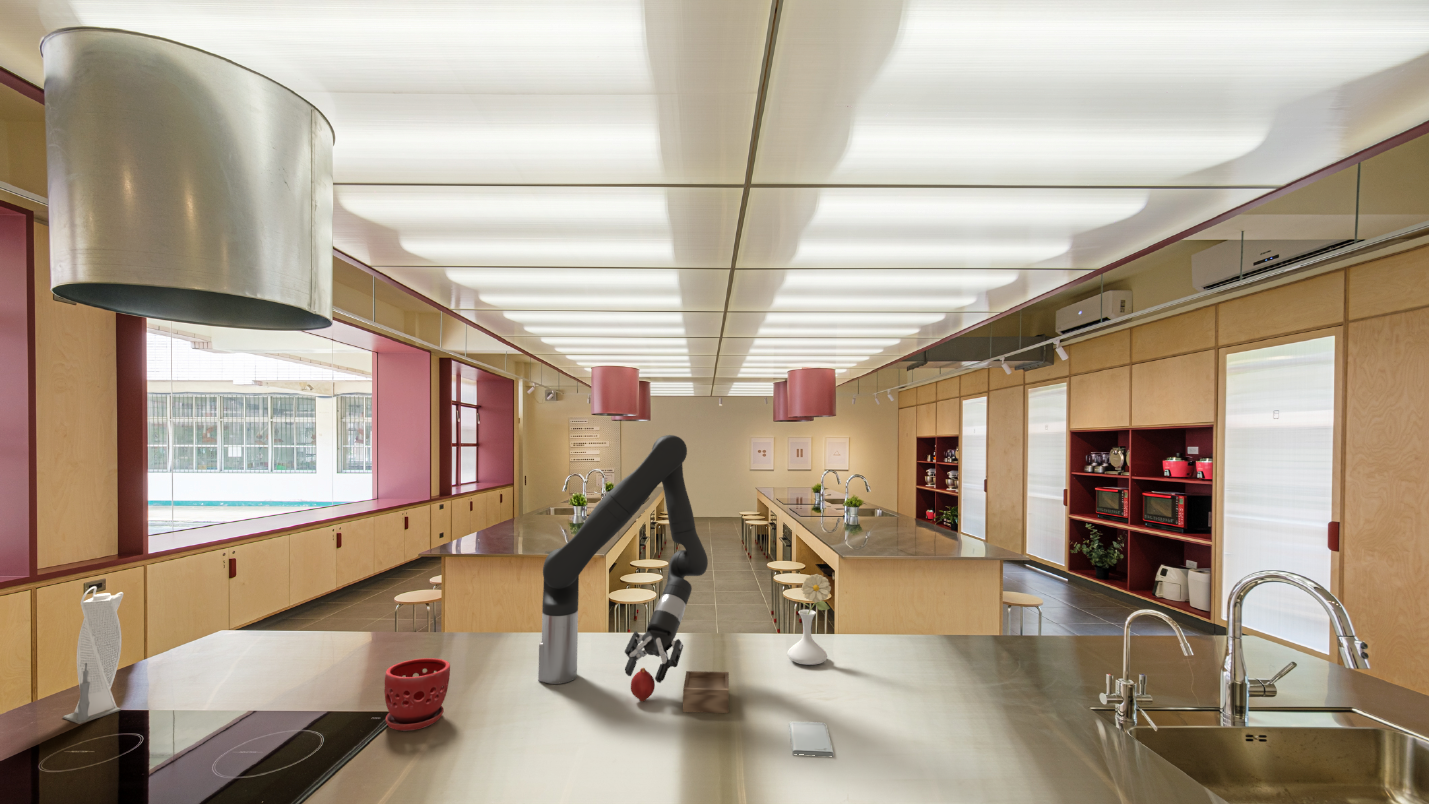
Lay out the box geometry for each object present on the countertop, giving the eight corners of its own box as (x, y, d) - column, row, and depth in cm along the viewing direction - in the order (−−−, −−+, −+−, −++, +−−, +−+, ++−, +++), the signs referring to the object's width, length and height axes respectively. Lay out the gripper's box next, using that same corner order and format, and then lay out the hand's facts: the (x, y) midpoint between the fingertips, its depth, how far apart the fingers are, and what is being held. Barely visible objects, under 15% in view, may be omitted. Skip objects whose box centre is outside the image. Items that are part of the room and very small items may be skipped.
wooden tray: (682, 712, 140) (683, 689, 140) (686, 692, 150) (686, 671, 150) (728, 712, 139) (728, 689, 140) (728, 693, 150) (728, 671, 150)
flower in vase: (779, 662, 170) (780, 573, 171) (798, 651, 179) (798, 566, 181) (822, 673, 163) (822, 580, 164) (839, 660, 172) (839, 572, 173)
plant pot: (439, 733, 129) (441, 676, 129) (373, 738, 127) (375, 679, 127) (455, 706, 142) (456, 654, 142) (395, 709, 140) (397, 657, 140)
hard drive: (833, 751, 121) (826, 721, 133) (792, 750, 121) (788, 720, 134) (833, 760, 121) (826, 729, 133) (792, 758, 121) (788, 728, 134)
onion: (631, 696, 148) (631, 663, 148) (654, 695, 148) (655, 662, 149) (629, 707, 142) (630, 672, 142) (654, 706, 142) (654, 671, 143)
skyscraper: (59, 716, 135) (67, 590, 136) (106, 702, 142) (113, 582, 144) (79, 724, 132) (87, 594, 133) (126, 708, 139) (133, 585, 141)
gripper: (638, 605, 157) (611, 665, 146) (686, 612, 151) (662, 676, 140) (649, 620, 161) (624, 679, 151) (696, 628, 155) (673, 690, 144)
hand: (642, 677), depth 145 cm, fingers open, 8 cm apart
